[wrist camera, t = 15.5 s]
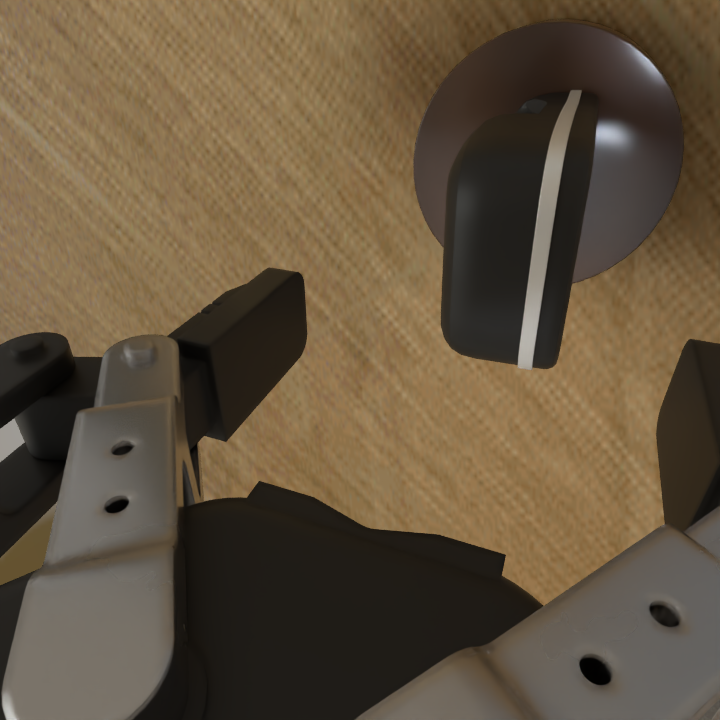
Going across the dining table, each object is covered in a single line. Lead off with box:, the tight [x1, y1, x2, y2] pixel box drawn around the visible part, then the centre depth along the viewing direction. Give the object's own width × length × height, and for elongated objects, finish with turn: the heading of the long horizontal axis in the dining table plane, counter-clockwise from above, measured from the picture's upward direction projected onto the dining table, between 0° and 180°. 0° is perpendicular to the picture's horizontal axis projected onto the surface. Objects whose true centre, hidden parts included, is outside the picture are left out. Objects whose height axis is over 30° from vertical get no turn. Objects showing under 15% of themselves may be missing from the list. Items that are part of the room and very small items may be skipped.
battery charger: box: [441, 90, 599, 370], centre depth 19 cm, size 7×4×11 cm, turn 3°
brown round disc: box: [414, 19, 684, 284], centre depth 25 cm, size 11×11×3 cm
